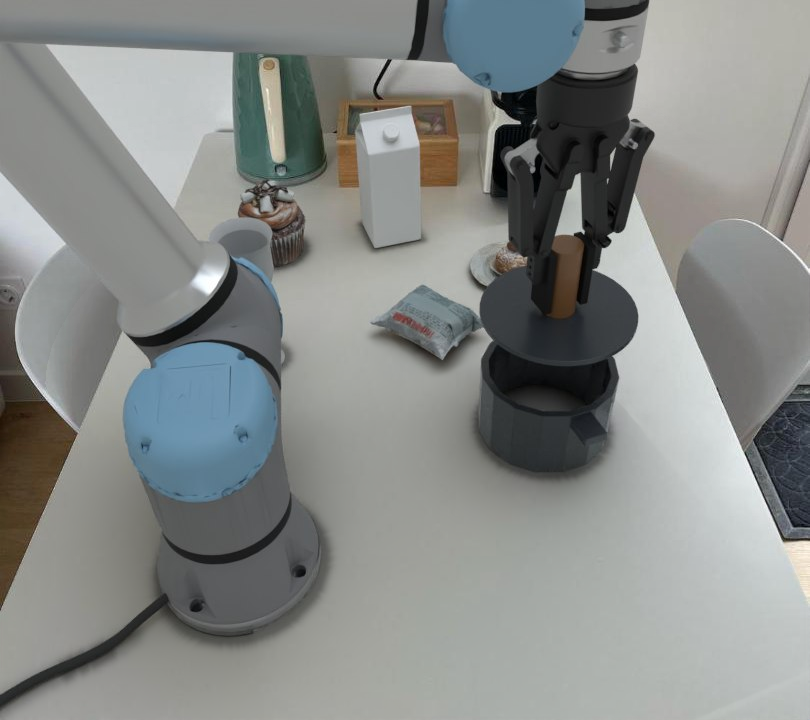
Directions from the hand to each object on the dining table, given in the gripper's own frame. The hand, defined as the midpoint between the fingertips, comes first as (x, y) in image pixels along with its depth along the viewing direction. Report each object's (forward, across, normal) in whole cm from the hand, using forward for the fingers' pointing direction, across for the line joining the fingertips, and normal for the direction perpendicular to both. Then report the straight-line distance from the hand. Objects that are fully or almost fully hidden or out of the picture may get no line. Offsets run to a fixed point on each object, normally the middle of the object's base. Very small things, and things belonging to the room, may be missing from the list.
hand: (558, 300), depth 78 cm
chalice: (+18, -26, +23) cm, 39 cm away
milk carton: (+18, -2, +43) cm, 47 cm away
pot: (+18, 0, 0) cm, 18 cm away
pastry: (+18, +10, +27) cm, 34 cm away
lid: (+2, 0, 0) cm, 2 cm away
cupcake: (+18, -19, +45) cm, 52 cm away
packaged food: (+18, -6, +19) cm, 27 cm away
